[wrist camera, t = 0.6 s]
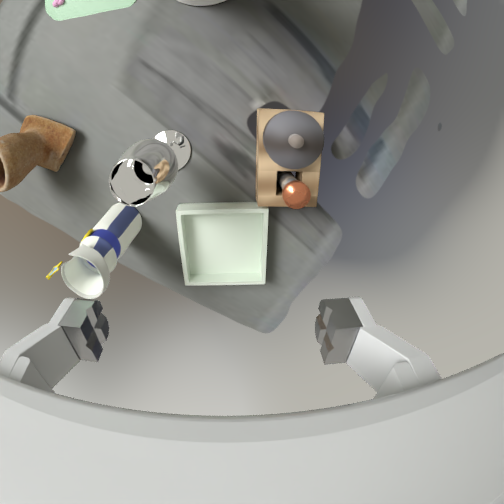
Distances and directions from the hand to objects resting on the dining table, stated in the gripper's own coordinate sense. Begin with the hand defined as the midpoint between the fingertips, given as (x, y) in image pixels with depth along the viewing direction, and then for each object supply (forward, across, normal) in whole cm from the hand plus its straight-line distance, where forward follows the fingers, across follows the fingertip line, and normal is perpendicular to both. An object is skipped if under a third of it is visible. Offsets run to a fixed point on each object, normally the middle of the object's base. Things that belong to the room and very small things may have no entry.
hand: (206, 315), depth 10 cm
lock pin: (+41, -10, +5) cm, 42 cm away
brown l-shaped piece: (+41, +37, -4) cm, 55 cm away
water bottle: (+41, +21, +13) cm, 48 cm away
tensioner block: (+41, -10, +1) cm, 42 cm away
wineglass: (+41, +10, 0) cm, 42 cm away
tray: (+41, +1, +18) cm, 45 cm away
